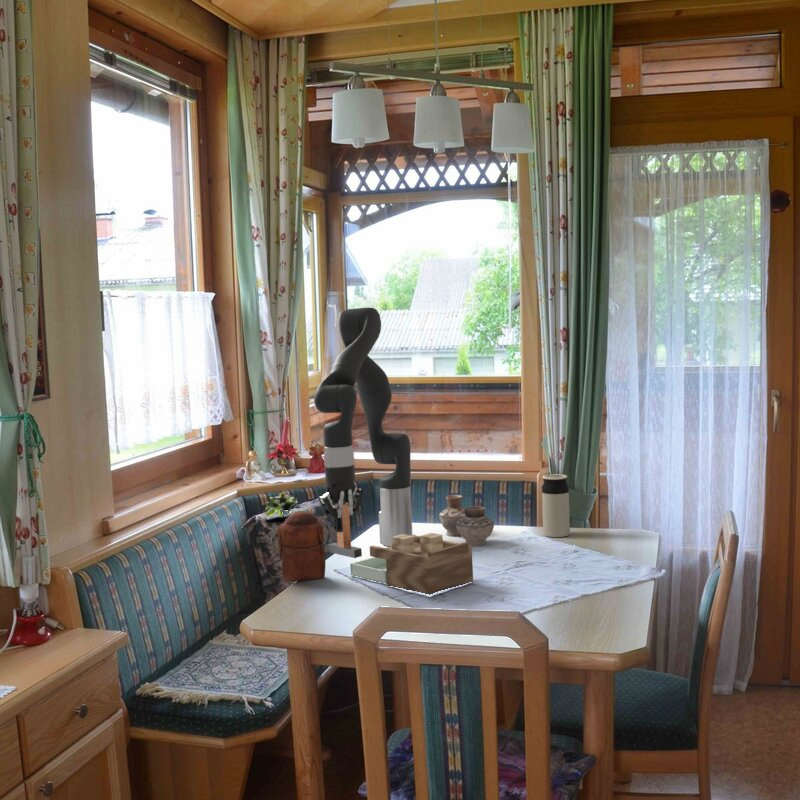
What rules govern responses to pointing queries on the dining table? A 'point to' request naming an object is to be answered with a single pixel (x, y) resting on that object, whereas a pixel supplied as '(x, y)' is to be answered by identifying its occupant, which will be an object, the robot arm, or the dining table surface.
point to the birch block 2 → (431, 542)
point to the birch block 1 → (403, 543)
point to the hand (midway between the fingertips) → (343, 530)
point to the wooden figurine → (301, 547)
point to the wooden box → (427, 566)
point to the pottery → (466, 521)
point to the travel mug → (555, 506)
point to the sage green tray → (370, 569)
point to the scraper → (344, 538)
